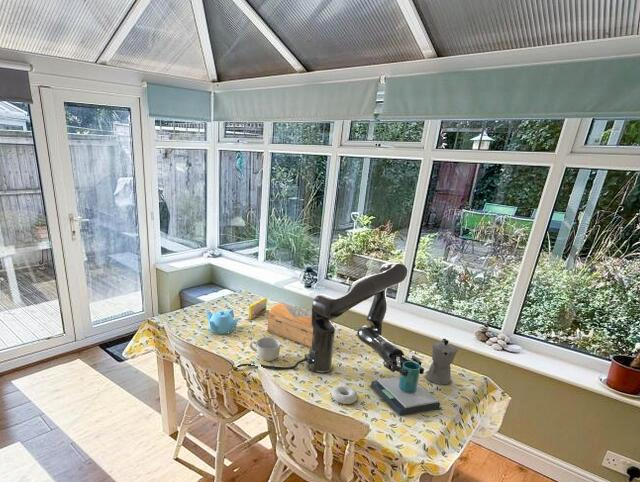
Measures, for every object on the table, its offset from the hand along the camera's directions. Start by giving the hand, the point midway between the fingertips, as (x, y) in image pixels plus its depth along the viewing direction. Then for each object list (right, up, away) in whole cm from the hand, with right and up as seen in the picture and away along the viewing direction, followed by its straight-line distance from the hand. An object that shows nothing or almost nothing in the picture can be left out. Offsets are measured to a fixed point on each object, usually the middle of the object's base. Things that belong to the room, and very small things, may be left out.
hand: (414, 373), depth 153 cm
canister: (-1, -7, +5) cm, 8 cm away
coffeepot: (+18, -5, +20) cm, 27 cm away
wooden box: (-36, +11, +57) cm, 69 cm away
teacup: (-55, +2, +35) cm, 65 cm away
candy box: (-58, +22, +81) cm, 102 cm away
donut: (-25, -11, +5) cm, 28 cm away
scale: (-2, -10, +6) cm, 12 cm away
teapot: (-77, +14, +62) cm, 99 cm away
